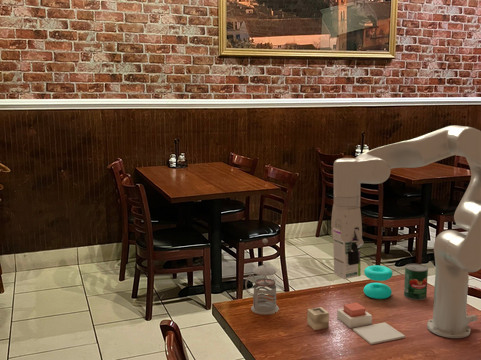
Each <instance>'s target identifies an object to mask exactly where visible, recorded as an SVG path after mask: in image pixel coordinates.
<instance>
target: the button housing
mask: <svg viewBox="0 0 481 360" xmlns="http://www.w3.org/2000/svg"><path fill="white" fill-rule="evenodd" d="M336 318H337V320H339V321H340V322H341V323H343V324H344V325H345V326H347V327H348V328H349V329H353V328H358V327H363V326H368V325H373V323H372V322H373V315H372V314H370V313H369V312H368V311H367V310H366V311H365V315H362V316H356V317H350V316H349V315H348V314H346V313H345V312H344V307H343V308H339V309H337V311H336Z"/></svg>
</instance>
